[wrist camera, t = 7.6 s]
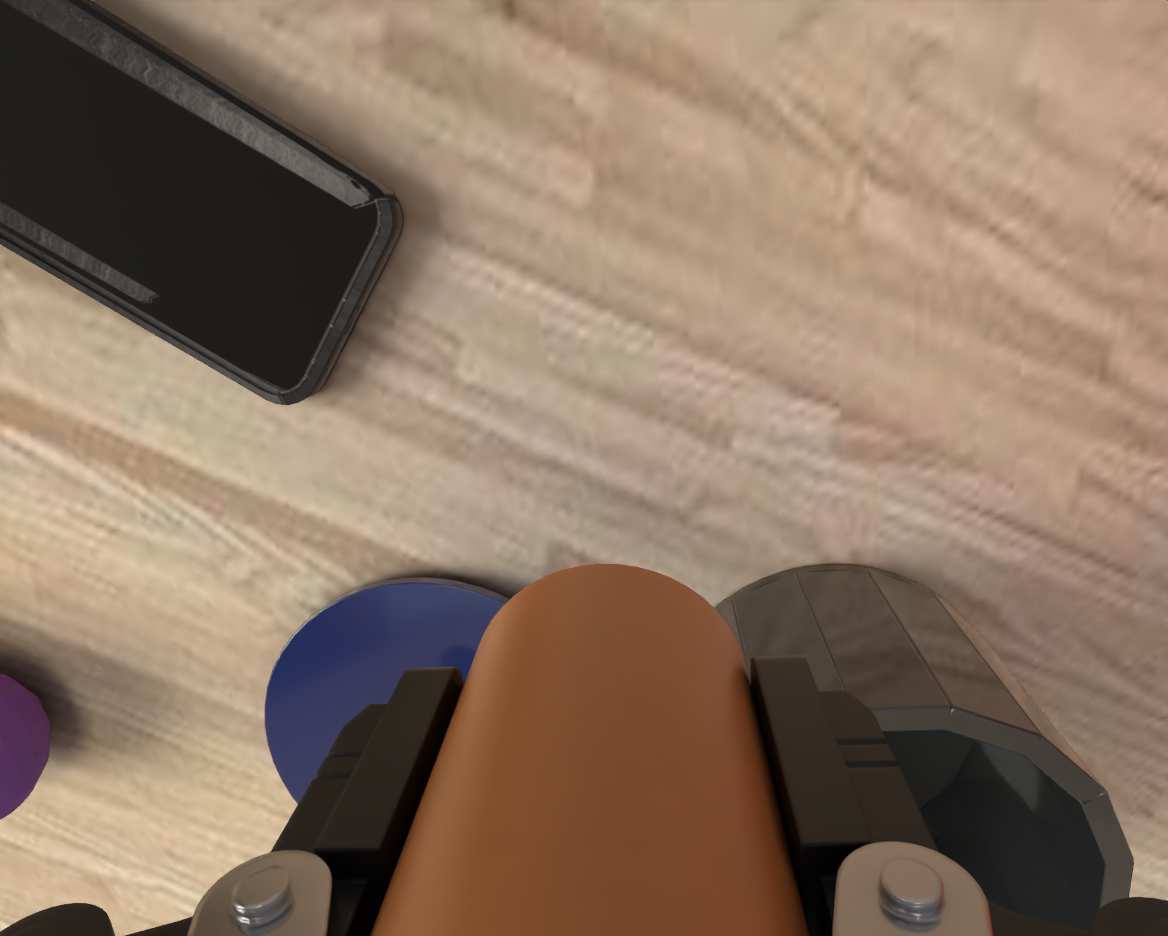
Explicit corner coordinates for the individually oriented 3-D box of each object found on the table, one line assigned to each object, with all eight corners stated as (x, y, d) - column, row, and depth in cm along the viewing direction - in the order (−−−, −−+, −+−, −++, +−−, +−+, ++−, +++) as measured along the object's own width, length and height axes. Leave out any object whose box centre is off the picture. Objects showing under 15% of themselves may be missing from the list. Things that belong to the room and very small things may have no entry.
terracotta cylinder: (489, 803, 13) (357, 1319, 7) (457, 568, 12) (263, 945, 6) (750, 798, 13) (851, 1338, 7) (745, 555, 11) (865, 943, 5)
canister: (672, 844, 32) (682, 1059, 24) (655, 571, 28) (660, 715, 20) (982, 839, 31) (1104, 1064, 22) (1005, 555, 27) (1159, 700, 19)
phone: (-64, -90, 22) (405, 203, 24) (-32, -77, 23) (416, 204, 25) (-137, 168, 25) (296, 421, 26) (-104, 170, 26) (310, 413, 27)
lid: (309, 858, 33) (241, 989, 28) (246, 577, 29) (152, 663, 24) (617, 854, 32) (612, 991, 26) (592, 561, 28) (580, 647, 23)
